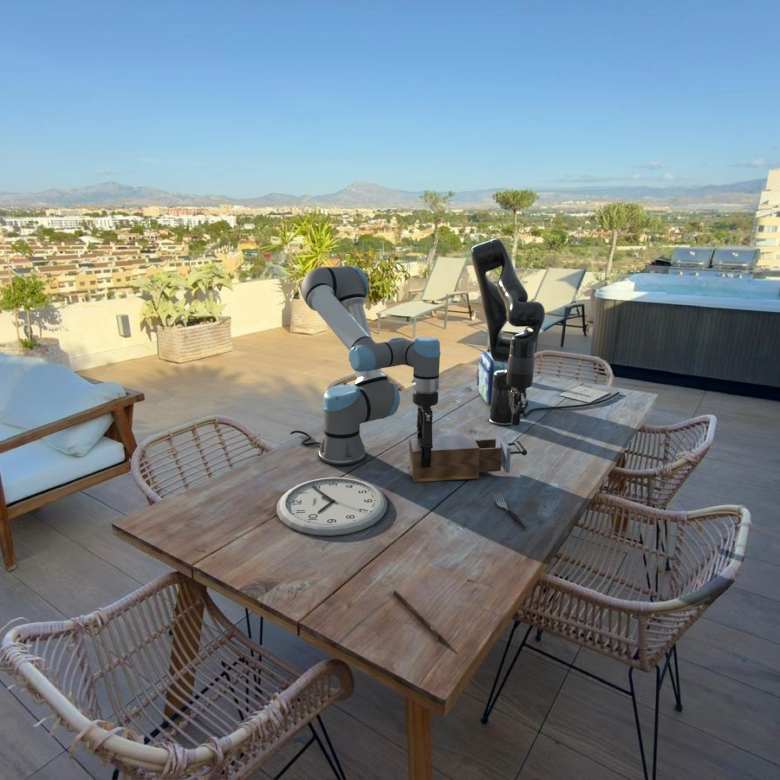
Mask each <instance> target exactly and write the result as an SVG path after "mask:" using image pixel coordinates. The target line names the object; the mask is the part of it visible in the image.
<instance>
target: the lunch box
mask: <svg viewBox="0 0 780 780" xmlns="http://www.w3.org/2000/svg"><path fill="white" fill-rule="evenodd" d="M506 368H508V363H502V362H497V361H494V360H493V359H492V356H491V352H487V351H482V352H481V354H480V358H479V360H478V369H479V377H478V378H477V381H476V384H477V385H476V386H478V393H479V395H480V396H481V397H482V399H483V400H484V402H485V404H487V405H488V406H489V405H490V406H491V398H492V385H493V374H494V372H495V371H497V370H502V369H506Z"/></svg>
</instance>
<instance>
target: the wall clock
mask: <svg viewBox="0 0 780 780" xmlns="http://www.w3.org/2000/svg"><path fill="white" fill-rule="evenodd" d="M387 509H388V500H387V498H386V496H385V494H384V493H383V492H382V491H381V490H380V489H379V488H377V487H376V486H374V485H372V484H371V483H369V482H365V481H362V480H359V479H355V478H349V477H338V476H337V477H335V476H333V477H332V476H331V477H322V478H317V479H312V480H307V481H305V482H302V483H299V484H297V485H295V486H293V487H292V488H290V489H288V490H287V491H286V492H285V493H284V494H283V495H281V496H280V498H279V499H278V502H277V503H276V515H277V517H278V518H279V520H280V521H281V522H282V523H283V524H285V525H286V526H287V527H288V528H290V529H293V530H295V531H297V532H299V533H303V534H308V535H312V536H327V537H328V536H329V537H331V536H332V537H333V536H342V535H350V534H352V533H356V532H361V531H363V530H366V529H368V528H369V527H372V526H373V525H375V524H376V523H378V522H379V521H380V520H381V519H382V518H383V517H384V516H385V514H386V512H387Z"/></svg>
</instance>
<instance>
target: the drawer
mask: <svg viewBox="0 0 780 780" xmlns="http://www.w3.org/2000/svg"><path fill="white" fill-rule="evenodd" d="M475 441H476V443H477V445H478V446H479V473H492V472H502V469H503V471H504V472H505V474H506V473H507V474H510V472H511V455H518V454H519V455H520V454H521V455H522V456H526V455H527V454H528V450H527V449H526V448H525V447H524V445H523V444H522V443H521V442H520V440H515V441H514V442H507V441H506V440H505V438H504V437H503V436H499V437H498V447H497V446H496V445H497V439H496V438H481V439H480V438H479V439H475ZM511 446H515V447H516V449H517V451H516V450H515V451H514V450H513V451H512V448H511Z"/></svg>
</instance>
